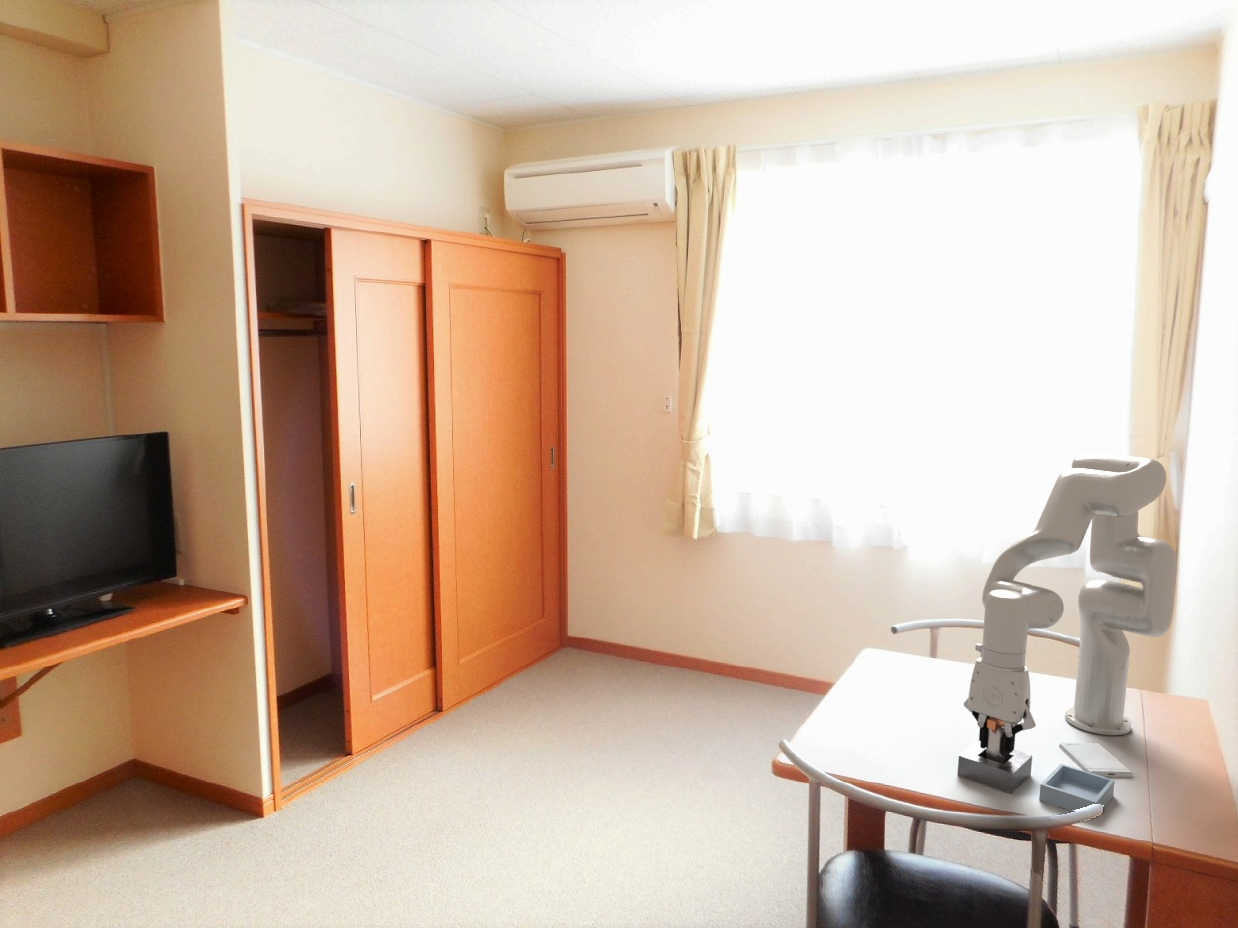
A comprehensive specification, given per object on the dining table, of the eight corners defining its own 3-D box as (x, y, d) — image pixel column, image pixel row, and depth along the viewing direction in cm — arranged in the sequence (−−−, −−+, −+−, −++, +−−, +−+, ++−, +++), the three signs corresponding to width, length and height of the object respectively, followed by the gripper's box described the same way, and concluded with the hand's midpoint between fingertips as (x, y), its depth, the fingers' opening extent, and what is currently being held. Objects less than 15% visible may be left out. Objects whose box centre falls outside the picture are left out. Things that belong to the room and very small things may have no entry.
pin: (978, 775, 172) (983, 717, 170) (992, 768, 175) (996, 711, 173) (995, 782, 169) (1000, 723, 167) (1009, 774, 172) (1014, 716, 170)
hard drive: (1059, 742, 184) (1090, 770, 172) (1099, 742, 184) (1133, 771, 172) (1058, 749, 185) (1089, 778, 172) (1099, 750, 185) (1132, 779, 172)
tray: (1059, 778, 171) (1061, 763, 171) (1113, 795, 165) (1114, 780, 164) (1039, 799, 163) (1040, 784, 162) (1094, 818, 157) (1096, 802, 156)
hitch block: (978, 758, 179) (979, 738, 178) (1030, 775, 172) (1032, 755, 172) (957, 775, 172) (958, 755, 171) (1011, 793, 165) (1012, 773, 164)
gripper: (951, 649, 172) (945, 740, 175) (1038, 674, 160) (1030, 772, 162) (971, 641, 177) (964, 730, 180) (1057, 664, 165) (1048, 759, 167)
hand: (996, 749), depth 171 cm, fingers closed on pin, 3 cm apart
